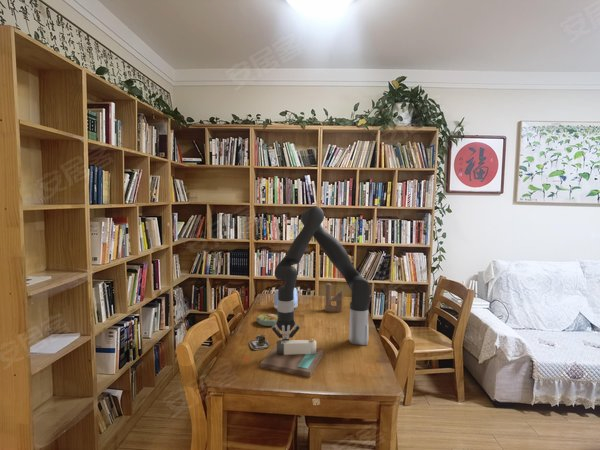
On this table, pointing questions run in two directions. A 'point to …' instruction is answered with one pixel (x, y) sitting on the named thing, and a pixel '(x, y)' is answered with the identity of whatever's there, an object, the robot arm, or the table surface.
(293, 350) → the white rectangular block
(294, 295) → the retro all-in-one computer
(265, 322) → the cell model
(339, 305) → the brown notched block
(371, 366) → the table surface
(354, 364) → the table surface
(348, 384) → the table surface
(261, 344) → the dark grey gadget
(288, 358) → the board
